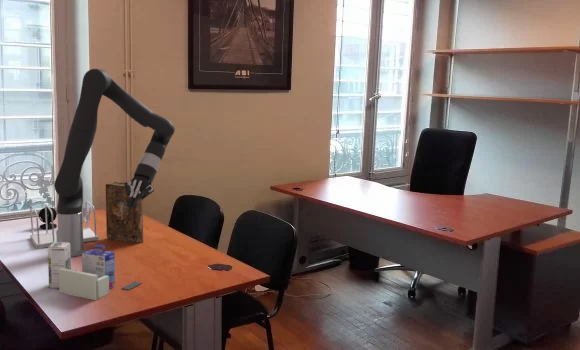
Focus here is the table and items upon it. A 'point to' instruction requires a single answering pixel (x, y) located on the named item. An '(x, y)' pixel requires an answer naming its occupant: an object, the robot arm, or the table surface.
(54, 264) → the syrup box
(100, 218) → the table surface
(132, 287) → the pad
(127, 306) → the table surface
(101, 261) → the ink cartridge box
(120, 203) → the book
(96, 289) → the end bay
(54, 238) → the file sorter
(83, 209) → the architectural model
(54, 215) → the webcam
